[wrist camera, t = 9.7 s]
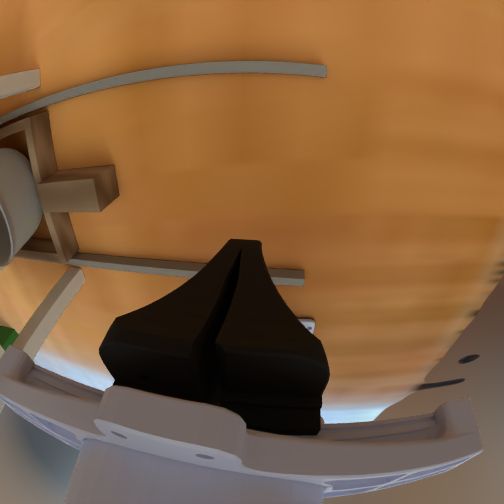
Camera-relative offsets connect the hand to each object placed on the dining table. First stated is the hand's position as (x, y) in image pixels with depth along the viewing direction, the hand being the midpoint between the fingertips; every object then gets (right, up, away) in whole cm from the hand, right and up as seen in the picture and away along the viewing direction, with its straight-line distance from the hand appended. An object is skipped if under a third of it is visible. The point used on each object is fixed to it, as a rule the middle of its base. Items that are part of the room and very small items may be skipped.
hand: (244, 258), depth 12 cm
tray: (-24, +7, +10) cm, 27 cm away
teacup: (-25, +7, +11) cm, 28 cm away
